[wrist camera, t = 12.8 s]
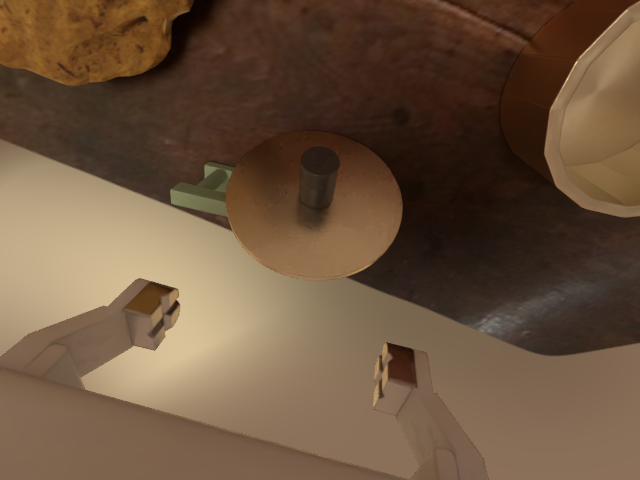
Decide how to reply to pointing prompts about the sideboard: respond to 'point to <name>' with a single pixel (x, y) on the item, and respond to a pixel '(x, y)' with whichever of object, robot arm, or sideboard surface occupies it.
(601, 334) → the sideboard surface
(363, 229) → the lid
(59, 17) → the fossil
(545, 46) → the tin
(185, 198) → the plate rack
